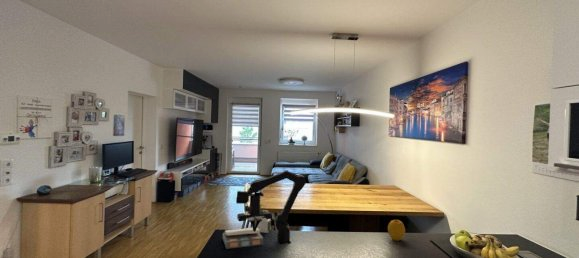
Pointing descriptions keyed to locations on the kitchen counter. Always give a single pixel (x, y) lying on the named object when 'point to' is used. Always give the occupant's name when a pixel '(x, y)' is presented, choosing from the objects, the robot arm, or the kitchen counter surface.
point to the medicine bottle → (264, 224)
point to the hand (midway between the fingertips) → (254, 231)
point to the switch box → (242, 240)
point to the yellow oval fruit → (396, 230)
